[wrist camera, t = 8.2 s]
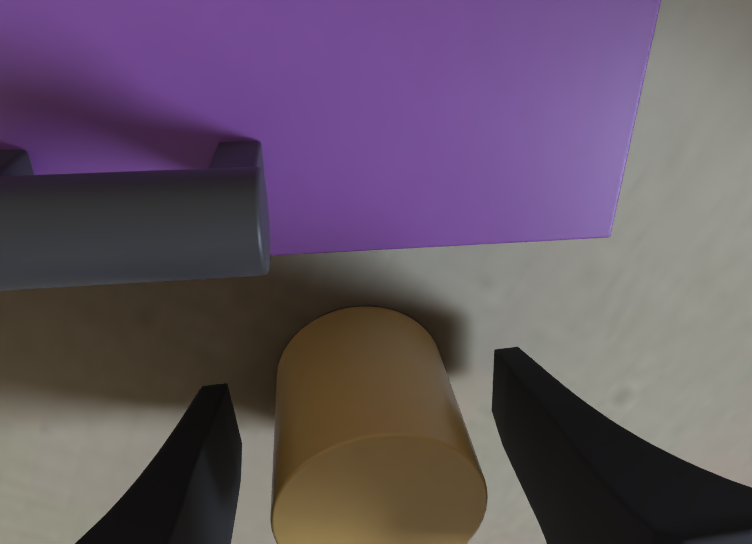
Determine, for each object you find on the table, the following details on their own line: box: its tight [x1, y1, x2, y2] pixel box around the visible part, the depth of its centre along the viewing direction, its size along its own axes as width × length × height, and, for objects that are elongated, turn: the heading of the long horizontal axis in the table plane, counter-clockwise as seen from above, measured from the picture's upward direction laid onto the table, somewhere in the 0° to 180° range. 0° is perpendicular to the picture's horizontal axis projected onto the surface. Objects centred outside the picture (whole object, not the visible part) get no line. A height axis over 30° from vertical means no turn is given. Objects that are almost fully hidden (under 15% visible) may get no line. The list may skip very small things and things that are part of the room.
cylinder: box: [271, 306, 487, 544], centre depth 14 cm, size 4×4×4 cm
